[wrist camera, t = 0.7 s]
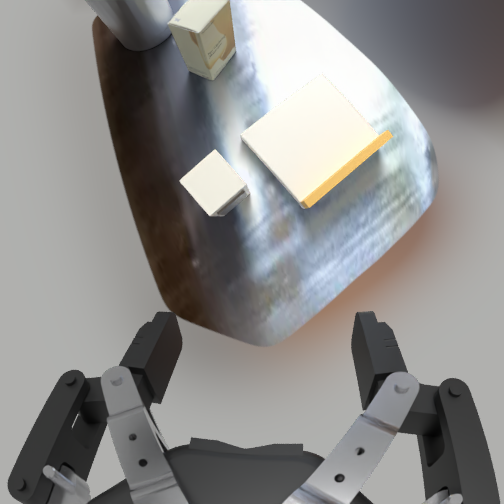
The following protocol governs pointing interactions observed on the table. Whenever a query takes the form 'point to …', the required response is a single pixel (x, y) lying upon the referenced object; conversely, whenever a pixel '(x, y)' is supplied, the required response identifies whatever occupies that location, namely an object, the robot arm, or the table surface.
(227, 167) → the product carton
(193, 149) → the table surface
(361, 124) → the shelf board
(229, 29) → the skincare box
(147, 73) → the table surface
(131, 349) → the robot arm
